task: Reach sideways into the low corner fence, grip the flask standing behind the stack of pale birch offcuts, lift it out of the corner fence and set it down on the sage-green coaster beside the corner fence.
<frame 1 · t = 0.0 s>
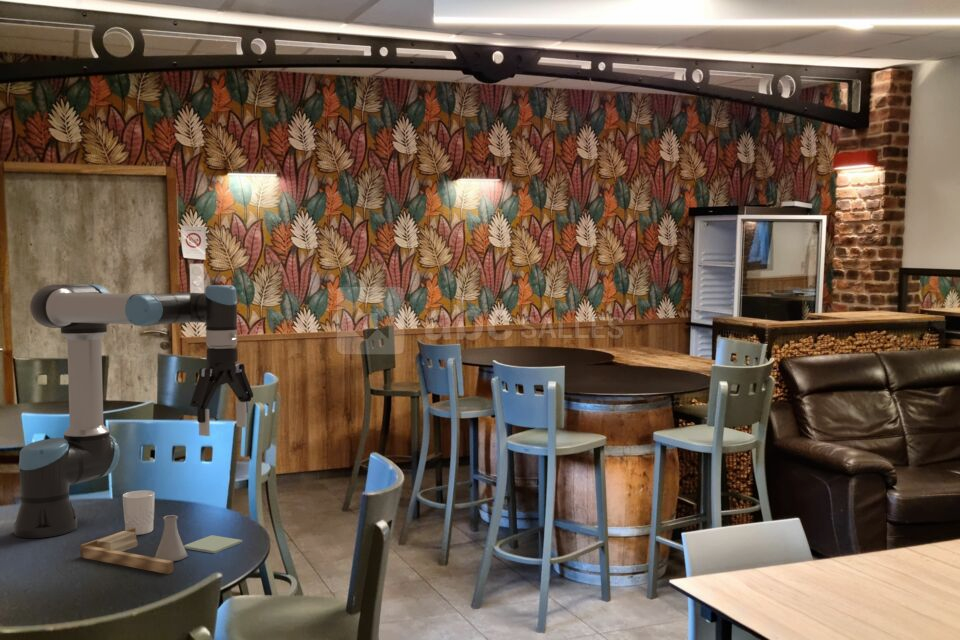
hand: (223, 431, 230), 28 cm above the table, tool pointing down, fingers open, 13 cm apart
corner fence: (149, 555, 219), on the table
flask: (171, 559, 218), on the table
offcut top: (117, 544, 224), point 1 cm above the table, touching offcut low
offcut low: (117, 552, 224), on the table, touching offcut top
coaster: (213, 545, 228), on the table
white cup: (139, 532, 240), on the table
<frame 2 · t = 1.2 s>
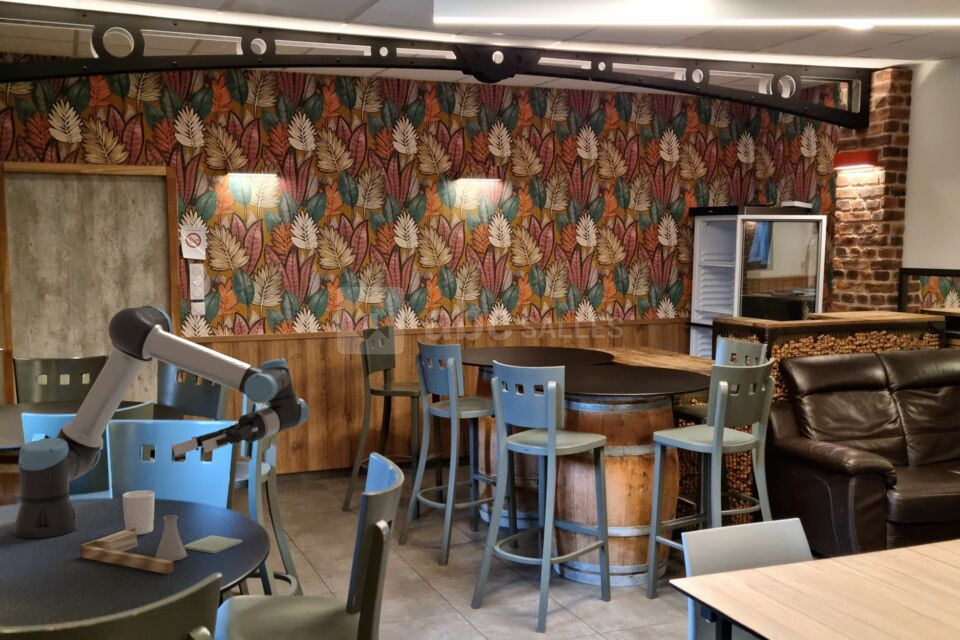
hand: (188, 448, 227), 24 cm above the table, tool horizontal, fingers open, 13 cm apart
nothing on the table moved.
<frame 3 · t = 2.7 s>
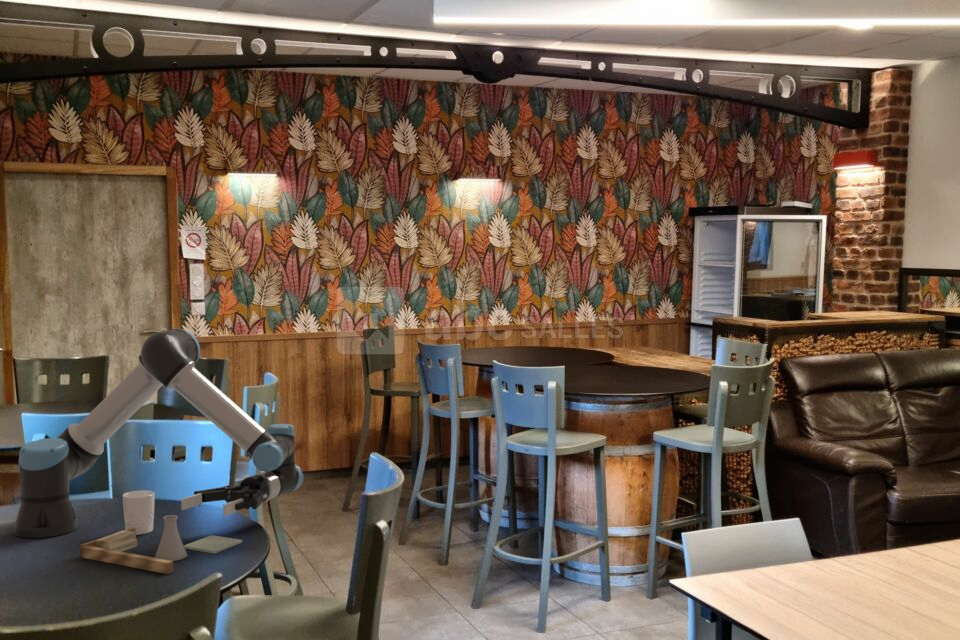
hand: (203, 507, 226), 10 cm above the table, tool horizontal, fingers open, 13 cm apart
nothing on the table moved.
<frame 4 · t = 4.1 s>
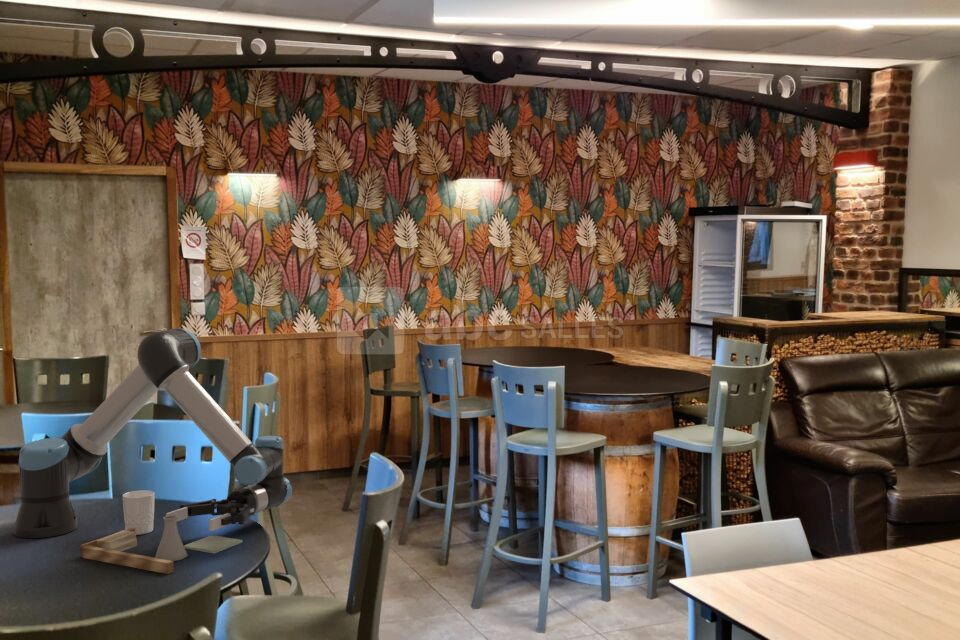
hand: (188, 522, 222), 7 cm above the table, tool horizontal, fingers open, 13 cm apart
nothing on the table moved.
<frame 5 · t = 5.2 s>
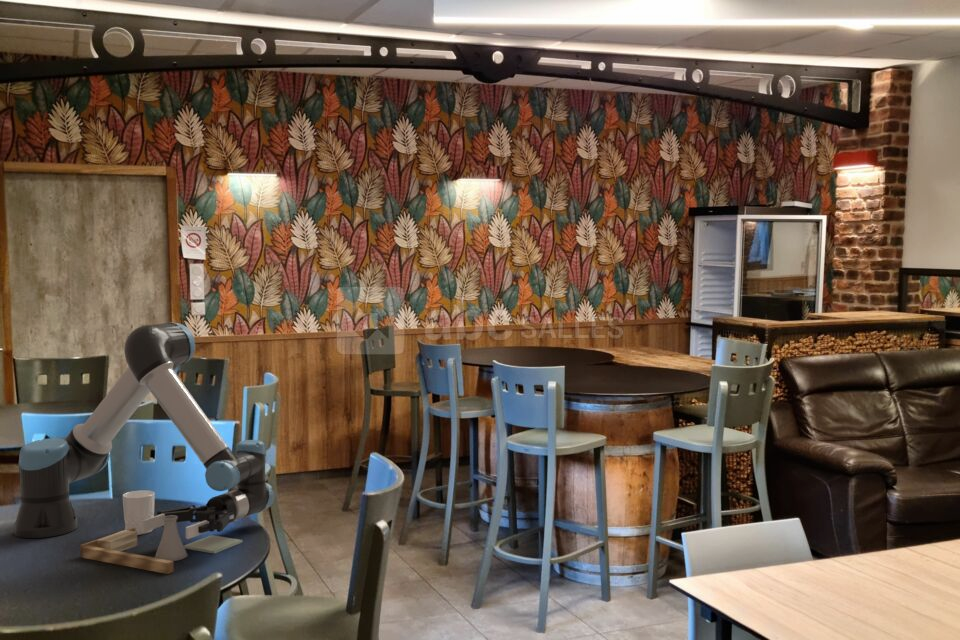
hand: (164, 529, 215), 7 cm above the table, tool horizontal, fingers open, 13 cm apart
offcut top: (117, 543, 224), point 1 cm above the table
offcut low: (117, 551, 225), on the table
everything else where it was.
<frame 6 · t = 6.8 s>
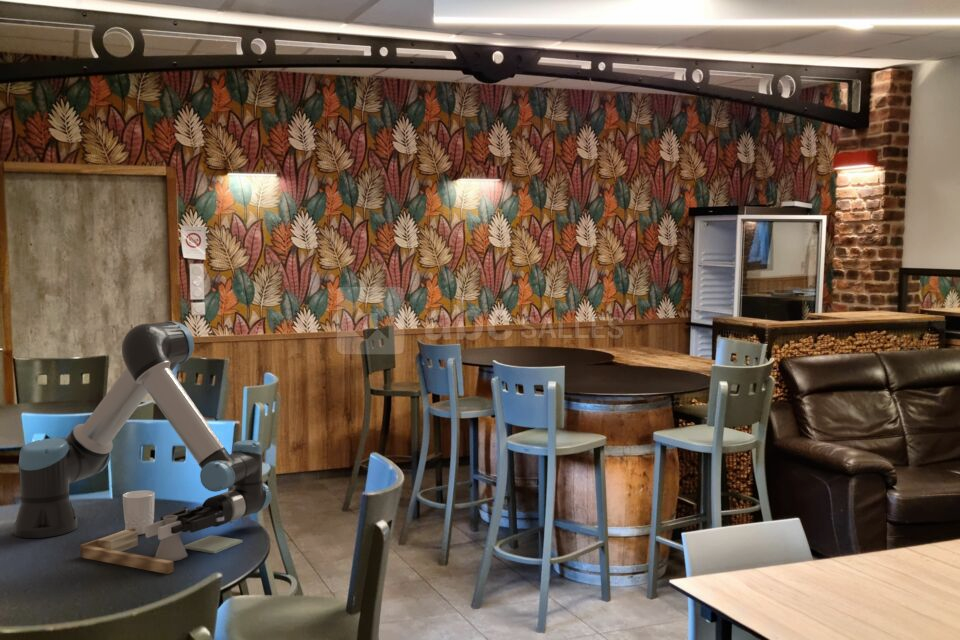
hand: (153, 532, 212), 8 cm above the table, tool horizontal, fingers closed on flask, 3 cm apart
flask: (171, 558, 218), on the table, touching gripper
offcut top: (118, 543, 224), point 1 cm above the table, touching offcut low
offcut low: (117, 551, 225), on the table, touching offcut top
everything else where it was.
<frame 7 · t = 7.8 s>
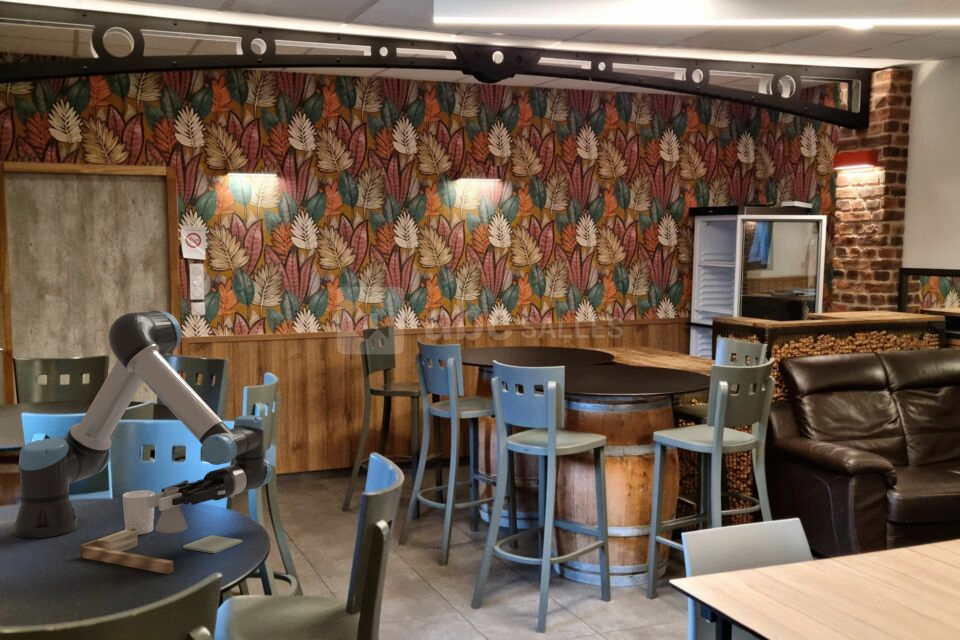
hand: (154, 503, 212), 14 cm above the table, tool horizontal, fingers closed on flask, 3 cm apart
flask: (171, 530, 217), point 7 cm above the table, touching gripper
everything else where it was.
when the fingers open (9 cm above the table, at t = 11.9 s): flask drops 1 cm, resting on coaster.
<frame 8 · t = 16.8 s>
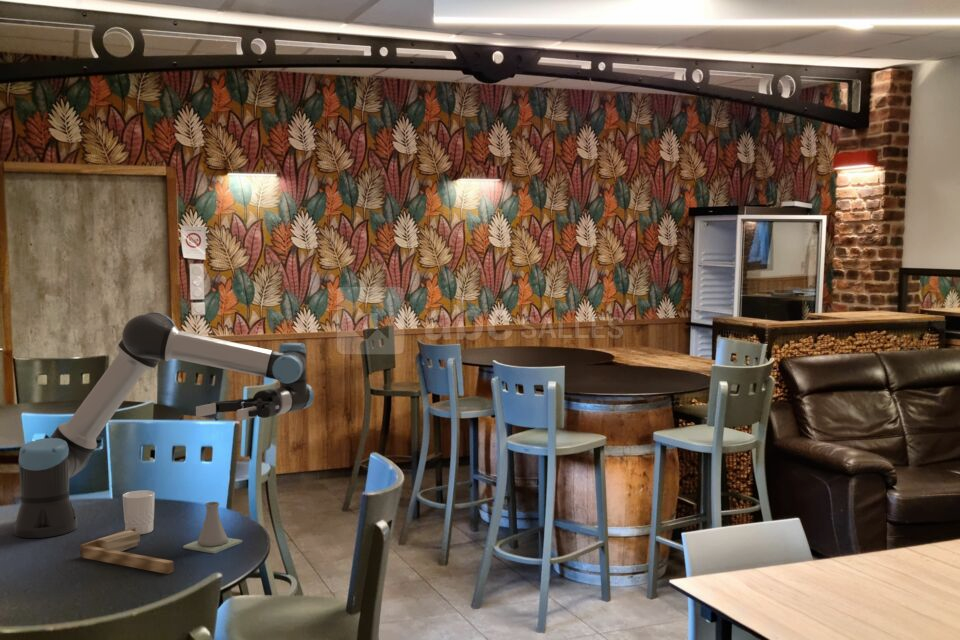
hand: (217, 413, 232), 32 cm above the table, tool horizontal, fingers open, 13 cm apart
flask: (213, 543, 228), resting on coaster
at the end: flask inside the target area on the coaster (0.0 cm from its centre), point 0.4 cm above the coaster's base; flask tilted 0°; the gripper is holding nothing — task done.
